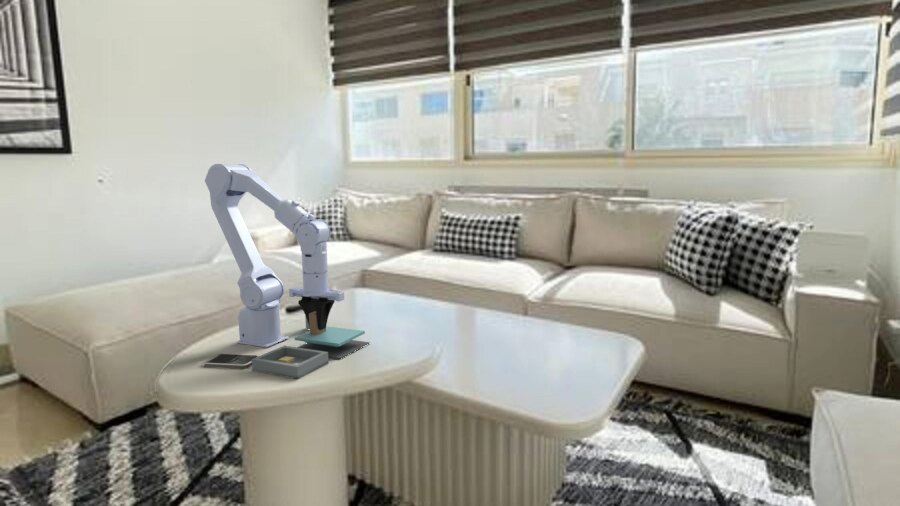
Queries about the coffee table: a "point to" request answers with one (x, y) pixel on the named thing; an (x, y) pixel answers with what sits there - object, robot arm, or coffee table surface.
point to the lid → (327, 334)
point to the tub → (290, 361)
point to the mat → (336, 348)
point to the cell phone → (229, 361)
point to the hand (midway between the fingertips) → (317, 328)
